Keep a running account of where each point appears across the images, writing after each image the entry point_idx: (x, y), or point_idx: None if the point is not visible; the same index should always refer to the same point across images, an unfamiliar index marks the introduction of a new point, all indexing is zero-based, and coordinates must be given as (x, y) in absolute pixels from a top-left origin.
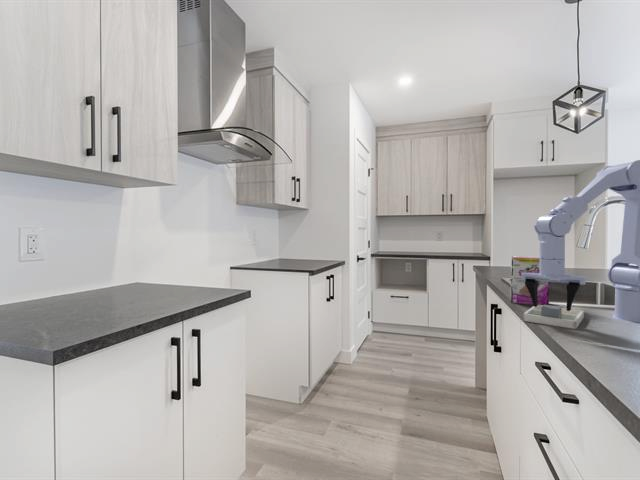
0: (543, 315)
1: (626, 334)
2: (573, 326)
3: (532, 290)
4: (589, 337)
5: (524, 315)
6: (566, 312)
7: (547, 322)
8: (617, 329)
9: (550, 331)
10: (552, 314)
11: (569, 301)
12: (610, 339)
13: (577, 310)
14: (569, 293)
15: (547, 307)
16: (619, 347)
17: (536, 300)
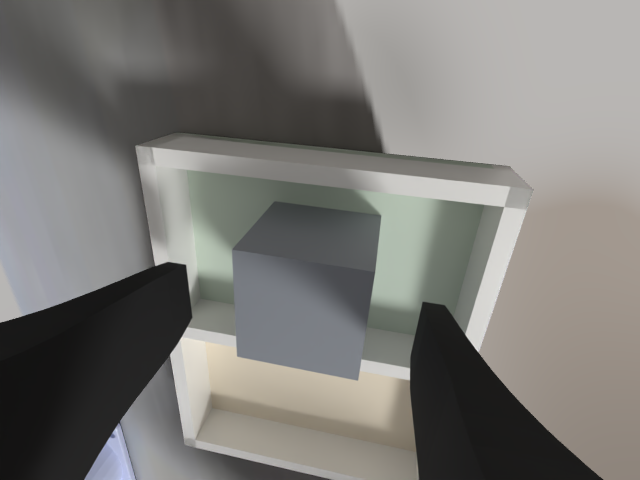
0: (361, 233)
1: (7, 217)
2: (175, 140)
3: (502, 438)
4: (84, 14)
5: (515, 181)
6: (268, 435)
7: (333, 157)
8: (61, 290)
9: (304, 8)
10: (294, 234)
11: (98, 294)
12: (3, 50)
13: (210, 441)
14: (1, 345)
15: (323, 286)
16: None
17: (423, 365)
